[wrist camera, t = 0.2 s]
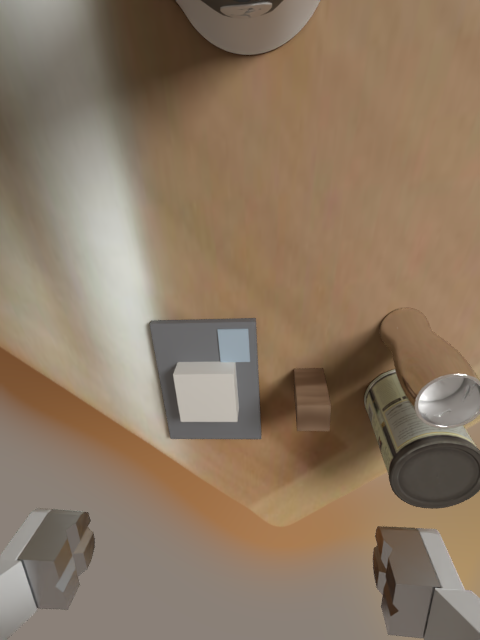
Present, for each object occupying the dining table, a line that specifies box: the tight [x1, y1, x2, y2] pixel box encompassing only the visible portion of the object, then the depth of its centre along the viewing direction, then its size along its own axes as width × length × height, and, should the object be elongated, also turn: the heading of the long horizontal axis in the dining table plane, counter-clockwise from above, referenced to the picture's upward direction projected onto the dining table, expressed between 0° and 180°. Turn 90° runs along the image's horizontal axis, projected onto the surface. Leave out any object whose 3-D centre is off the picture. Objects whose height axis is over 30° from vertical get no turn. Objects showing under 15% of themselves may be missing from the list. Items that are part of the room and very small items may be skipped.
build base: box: [150, 318, 261, 439], centre depth 55 cm, size 20×14×4 cm
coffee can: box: [364, 369, 480, 508], centre depth 49 cm, size 10×10×14 cm
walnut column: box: [294, 368, 331, 431], centre depth 52 cm, size 4×4×8 cm
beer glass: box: [379, 308, 480, 429], centre depth 44 cm, size 7×7×15 cm
